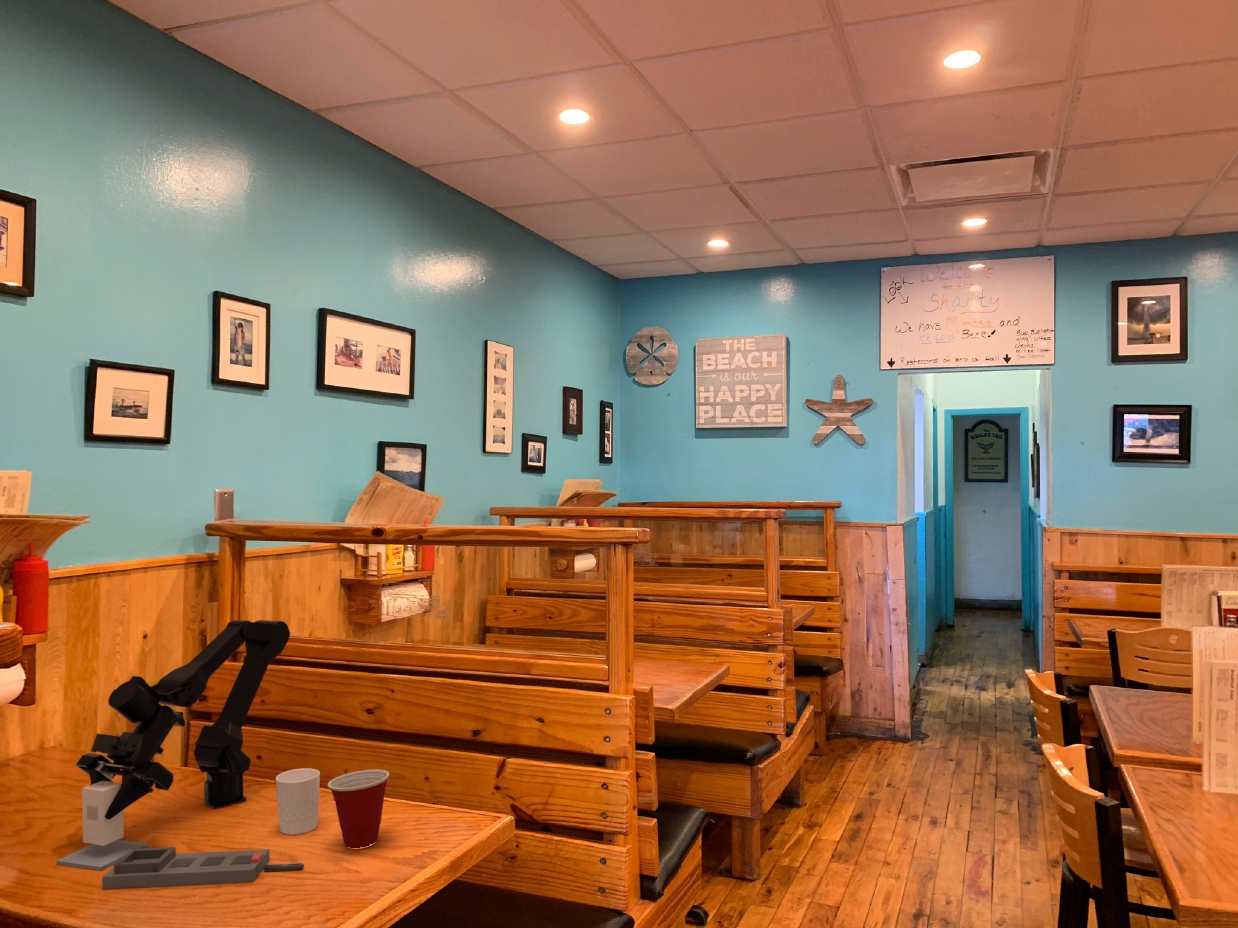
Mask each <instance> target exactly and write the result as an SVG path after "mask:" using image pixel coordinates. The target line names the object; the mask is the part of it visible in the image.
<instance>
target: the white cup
mask: <svg viewBox="0 0 1238 928" xmlns="http://www.w3.org/2000/svg"><path fill="white" fill-rule="evenodd" d="M320 778H321V772H320V770H318V769H315V768H307V767H306V768H296V769H295V768H294V769H290V770H287V771H283V772H280V773H279V774H277V776H276V777H275V787H276V803H277V806H276V807H277V815H278V818H279V819H278V820H279V831H280V833H282V834H283V833H284V835H291V836H292V835H295V834H296V835H302V834H306V833H309V832H311V831H313V830H315V829H316V828H317V827H318V818H319V817H318V816H319V805H320ZM301 833H302V834H301ZM296 835H295V836H296Z"/></svg>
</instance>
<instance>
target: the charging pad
mask: <svg viewBox="0 0 1238 928" xmlns="http://www.w3.org/2000/svg"><path fill="white" fill-rule="evenodd" d="M145 848H149V843H145V842H137V841H130V840H124V839H123V840H122V839H118V840H116V841H113V842H111V843H109V844H107V845H104V846H101V845H96V844H90V845H88V846H86V847H83V848H81V849H79V850H77V851H75V852H72V853H70V854H68V855H66V856H63V857H62V858H59V859H58V860H56V861H55V863H56V865H58V866H59V865H60V866H66V867H73V868H74V867H75V868H80V869H87V870H94V871H103V870H106V869H107V868H109V867H112V866H114V864H115V863H117V862H118V861H119V860H120V859H121V858H122V857H124V856H125V855H126V854H127V853H128V852H129V851H131V850H132V849H145Z"/></svg>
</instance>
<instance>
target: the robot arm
mask: <svg viewBox="0 0 1238 928" xmlns="http://www.w3.org/2000/svg"><path fill="white" fill-rule="evenodd" d="M290 631H291V630H290V628H289V626H288V624H287V623H286V621H282V620H267V619H266V620H264V619H259V620H256V621H253V622H252V621H250V620H243V619H242V620H241V619H232V620H231V621H229V622H228V623H227V624H226V626H225V628H224V629H223V630H222V631H221V632H220V633H219V634H218V635H217V636H215V638H213V640H211V642H209V644H207V645H206V646H205V647H204V648H203V649H202V650H201V651H200V652H199V653H198V654H197V655H196V656H194V658H192V660H191V661H189V662H187V664H184V665H182V666H179V667H177V668H175V669H173V670H171V671H170V672H168V673H167V674H165V675H164V676H163V677H162V678H160V679H159V680H158V682H157V683H155V684H153V685H150V684H148V683H147V682H146V679H144V677H143V676H139V675H132V677H130V679H129V680H128V681H126V682H125V681H124V682H123V683H121V684H120V685H118V686H117V688H114V689H113V690H112V691H111V693H110V695H109V698H108V701H107V702H108V706H109V707H110V708H112V709H113V710H114V711H115V712H117V713H118V714H119V715H120V716H122V717H123V718H124V719H126V720H127V722H129V723H131V724H136V726H135V727H134V729H133V730H132V732H127V731H123V732H122V733H121V735H112V734H104V733H96V735H95V738H94V741H93V744H92V746H91V750H90V752H88V753H86V754H82V755H81V757H80V758H79V759H78V761H77V763H76V764H75V767H77V768H79V770H81V771H83V772H84V773H85V774H86V775H88V776H89V778H90V779H89V780H90V785H92V784H95V783H98V782H101V781H108V782H114V781H113V779H114V778H115V776H120V777H121V784H122V785H121V788H120V789H119V791H118V793H117V794H116V796H115V798H114V800H113V801H112V803H111V805H110V806H109V808H108V810H107V812H106V814H105V818H106V819H111V818H113V817H114V816H115V815H117V814H118V813H120V812H121V811H122V810H123V811H124V810H125V809H127V808H128V807H129V806H131V805H132V804H133V803H136V801H139V799H141V798H143V797H144V796H146V795H148V794H150V793H151V794H152V793H154V791H155V790H154V788H153V786H154V787H155V789H157V790H161V791H169V789H170V788H171V786H172V785H173V783H174V773H173V772H171V771H170V770H169V769H168V768H166V767H165V766H164V765H162V763H160V762H159V761H153V759H154V757H155V756H156V755H161V756H162V754H163V752H164V751H165V749H164V748H163V747H162V745H163V744H164V742H165V740H166V739H167V737H168V735H169V734H170V732H171V731H172V729H173V728H174V727H185V726H186V719H185V718H184V712H183V711H176V710H174V709H173V708H172V707H181V708H190V707H192V706H193V705H195V704H196V703H197V702H198V700H199V699H200V697H201V696H202V695H203V693H204V692H205V690H206V689H207V686H208V681H209V679H211V676H213V675H214V673H216V672H217V670H218V669H219V668H221V666H223V664H225V663H226V661H227V660H228V659H229V658H230V657H232V656H233V654H234V653H236V651H237V650H238V649H240V647H241V646H242V645H243V644H244V646H245V655H246V656H245V658H244V661H243V663H242V665H241V667H240V670H239V672H238V674H237V676H236V678H235V680H234V683H233V686H232V687H231V690H230V692H229V693H228V697H227V698H226V701H225V703H224V705H223V708H222V710H221V712H220V715H219V717H218V719H217V720H216V721H215V722H214V723H213V724H211V725H203V726H202V728H201V730H200V733H199V735H198V738H197V740H195V742H194V744H193V745H194V746H195V747H194V750H193V756H194V759H195V762H196V763H197V766H198V768H199V771H200V773H206V780H204V782H203V786H204V787H203V788H204V789H203V795H204V798H203V799H204V800H203V801H204V802H205V803H206V804H207V805H208V806H210V807H211V808H213V809H218V808H223V807H226V806H230V805H234V804H238V803H241V802H245V801H247V797H246V796H245V795H244V774H245V772H246V771H247V772H248V771H249V769H250V765H251V762H252V761H251V760H252V759H251V757H249V756H248V755H247V754H246V753H244V752H243V750H242V747H243V744H244V738H243V730H242V728H243V725H244V722H245V720H246V718H247V715H248V714H249V711H250V708H251V707H252V704H253V702H254V699H255V697H256V695H257V692H258V690H259V688H260V685H261V682H262V681H263V679H264V676H265V674H266V672H267V669H268V667H269V665H270V663H271V662H273V661H274V660H275V659H276V658H277V657H278V656H279V655H280V654H282V652H283V651H284V649H285V647H286V645H287V644H288V642H289V640H290V638H291V637H290V636H291V632H290ZM98 752H99V753H101V754H99V753H98ZM102 754H106V757H105V756H104V755H102ZM110 760H112V761H113V762H112V761H110ZM90 785H89V786H90Z"/></svg>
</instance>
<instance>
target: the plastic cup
mask: <svg viewBox="0 0 1238 928" xmlns="http://www.w3.org/2000/svg"><path fill="white" fill-rule="evenodd" d="M388 779H390V772H389V771H387V770H384V769H378V768H376V769H364V770H358V771H353V772H348V773H345V774H341V775H339V776H337V777H334V778H333V779H331V780H330V781H329V782H328V783H327V787H328V789H329V790H330V791H331V795H333V800H334V803H335V808H336V813H337V817H338V822H339V823H338V824H339V829H341V836H342V841H343V844H344V847H345V846H346V847H345V848H347V847H350V848H360V847H366V846H369V845H370V844H373V843H375V842H376V841H377V842H378V839H379V834H380V825H381V823H382V815H383V808H384V807H383V806H384V800H385V793H386V787H387V782H388Z"/></svg>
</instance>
